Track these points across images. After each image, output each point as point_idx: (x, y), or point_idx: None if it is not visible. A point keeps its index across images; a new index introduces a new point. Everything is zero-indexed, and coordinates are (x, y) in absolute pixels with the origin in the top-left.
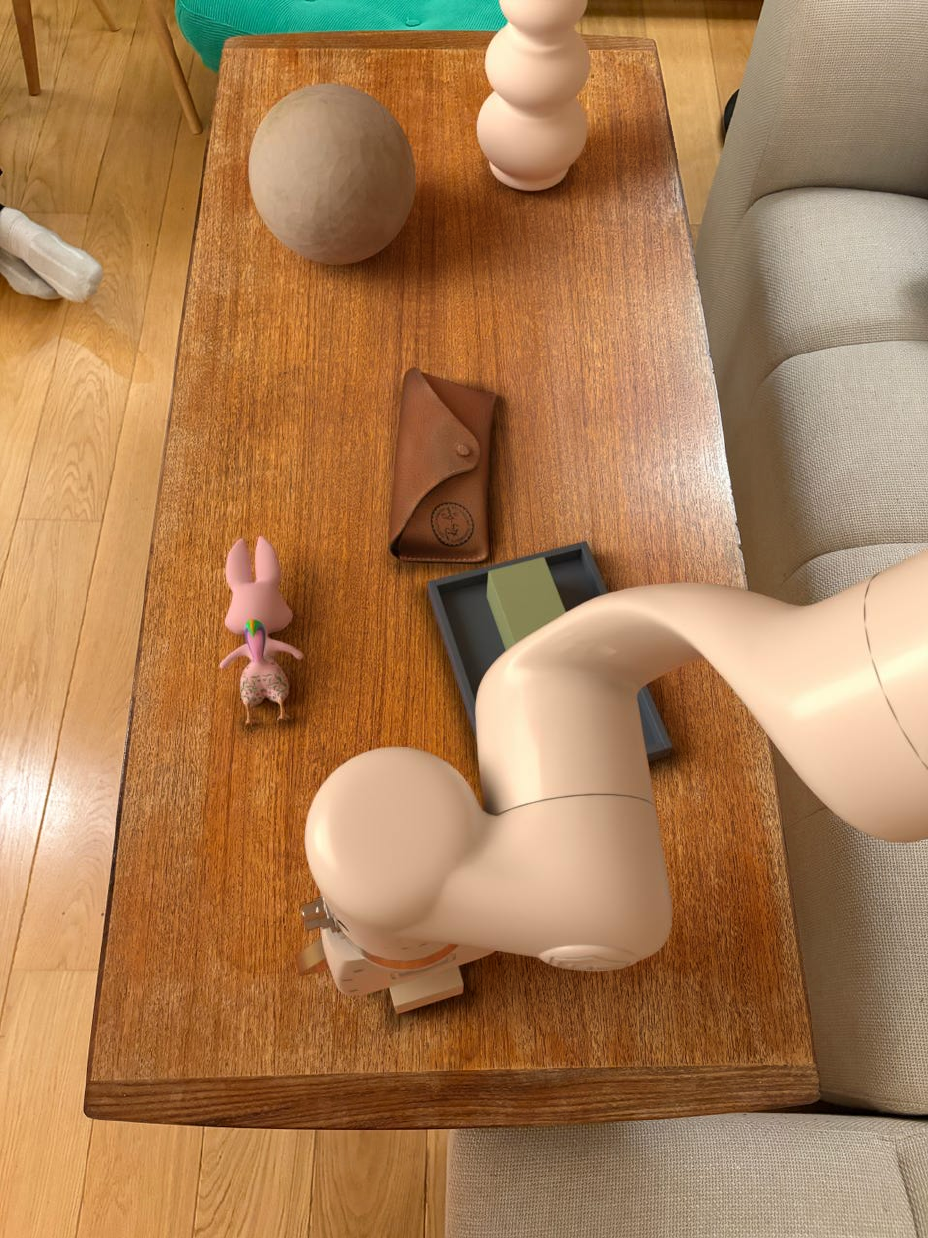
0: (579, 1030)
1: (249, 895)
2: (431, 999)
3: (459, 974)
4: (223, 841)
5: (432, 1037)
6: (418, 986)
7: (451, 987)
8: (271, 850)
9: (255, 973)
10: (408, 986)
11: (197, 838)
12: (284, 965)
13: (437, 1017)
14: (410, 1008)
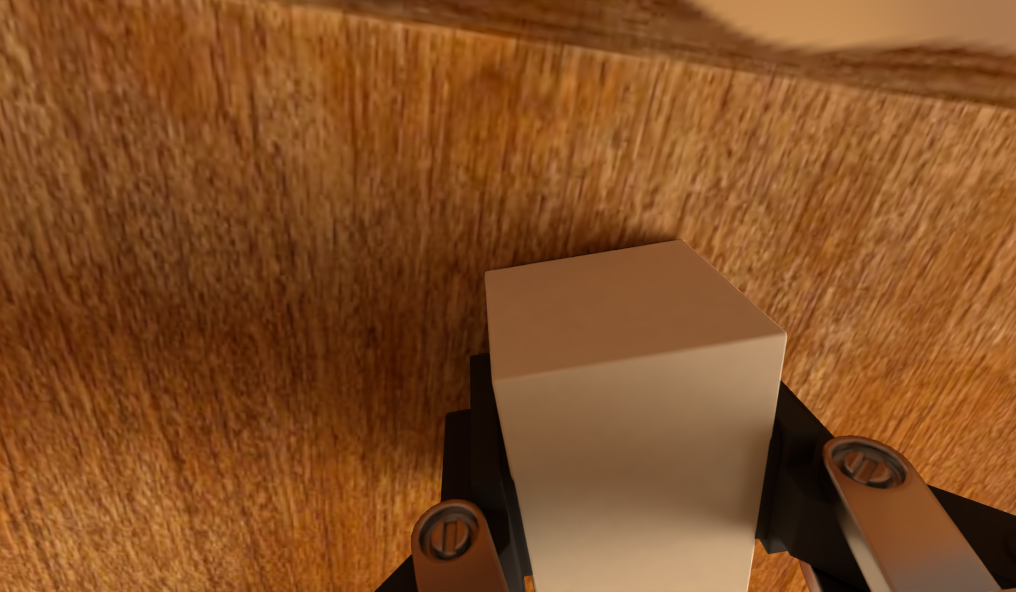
0: (88, 112)
1: None
2: (600, 296)
3: (503, 414)
4: None
5: (596, 160)
6: (672, 391)
7: (544, 378)
8: None
9: (976, 363)
10: (709, 394)
11: None
12: (907, 373)
13: (569, 214)
14: (654, 259)
